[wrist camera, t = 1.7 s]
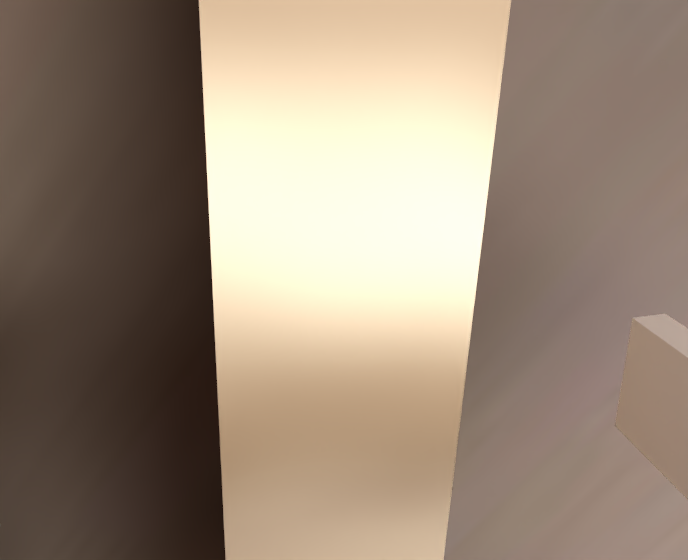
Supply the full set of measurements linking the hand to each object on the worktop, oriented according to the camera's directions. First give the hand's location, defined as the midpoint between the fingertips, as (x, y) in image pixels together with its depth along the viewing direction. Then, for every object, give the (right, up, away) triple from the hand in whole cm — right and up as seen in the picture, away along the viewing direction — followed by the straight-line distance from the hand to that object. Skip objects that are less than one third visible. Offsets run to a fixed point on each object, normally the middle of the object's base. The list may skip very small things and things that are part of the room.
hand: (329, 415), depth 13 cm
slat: (-2, +3, +8) cm, 9 cm away
